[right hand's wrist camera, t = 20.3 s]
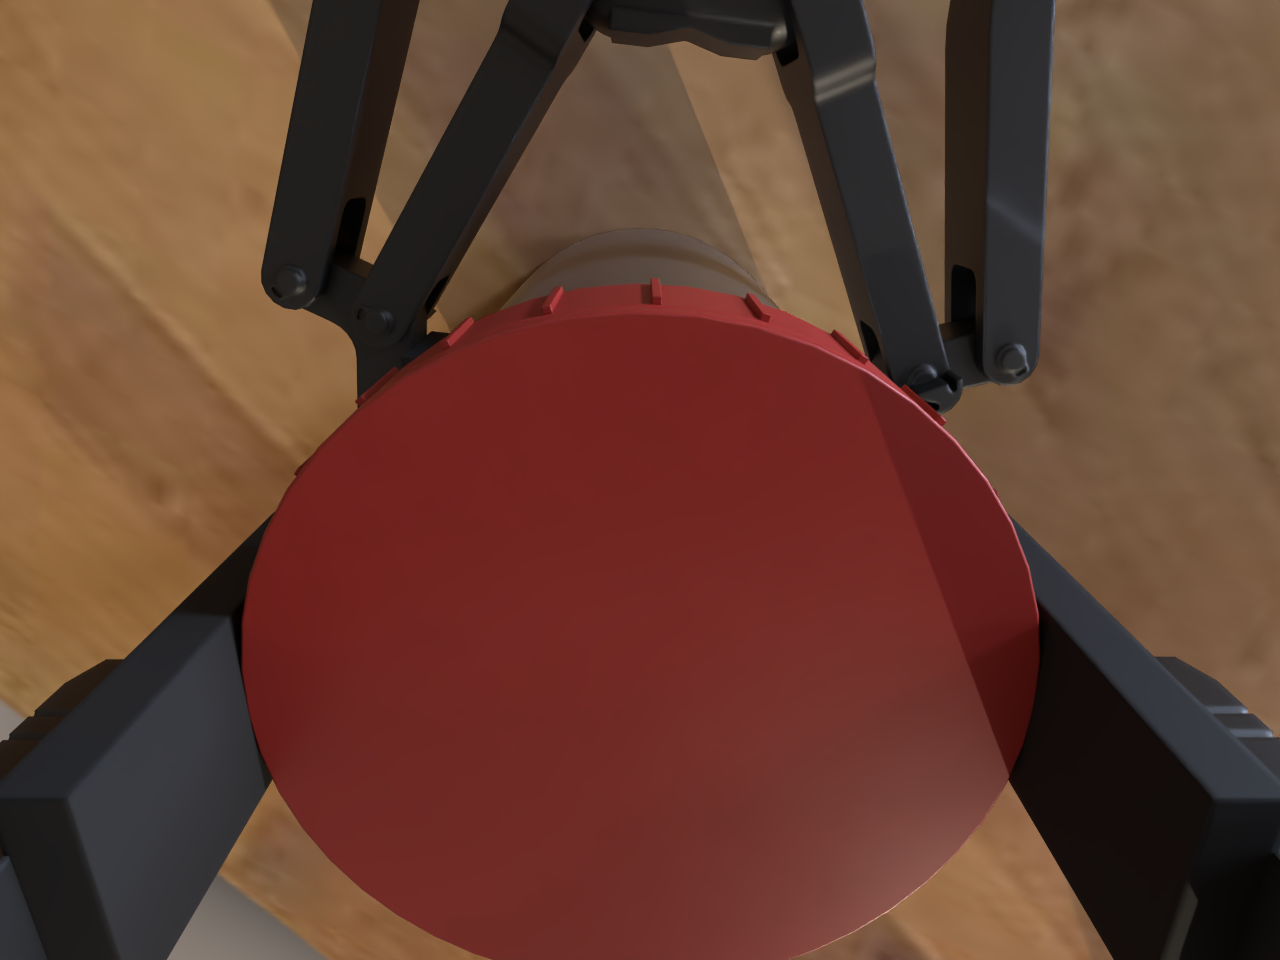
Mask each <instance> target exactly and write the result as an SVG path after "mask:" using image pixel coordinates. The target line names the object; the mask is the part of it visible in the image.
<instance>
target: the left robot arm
mask: <svg viewBox="0 0 1280 960" xmlns="http://www.w3.org/2000/svg"><path fill="white" fill-rule="evenodd" d="M419 1H420V0H313V3H312V8H311V13H310V18H309V24H308V29H307V34H306V39H305V45H304V50H303V55H302V60H301V66H300V71H299V76H298V81H297V86H296V92H295V97H294V102H293V107H292V113H291V118H290V123H289V128H288V134H287V139H286V144H285V149H284V154H283V160H282V165H281V170H280V175H279V181H278V186H277V191H276V196H275V202H274V207H273V212H272V217H271V222H270V228H269V233H268V238H267V243H266V249H265V254H264V259H263V264H262V270H261V282H262V285H263V287H264V290H265V292H266V294H267V295H268V296H269V297H270V298H271V299H272V301H273V302H274V303H276V304H278V305H280V306H282V307H283V308H287V309H294V310H297V309H301V308H303V309H305V310H307V311H310V312H312V313H314V314H316V315H318V316H320V317H323V318H325V319H327V320H329V321H331V322H333V323H335V324H336V325H338V326H340V327H341V328H342V329H343V330H344V331H345V332H346V333H347V334H348V336H349V337H350V339H351V340H352V342H353V344H354V347H355V349H356V356H357V399H358V398H359V397H360V396H361V395H363V394H364V393H365V392H366V391H367V390H368V389H370V388H371V387H372V386H373V385H374V384H375V383H376V382H378V381H379V380H380V379H381V378H382V377H383V376H384V375H386V374H387V373H388V372H389V371H390V370H391V369H393V368H394V367H396V368H397V369H398V370H399V371H400V370H401V369H402V368H403V367H405V366H406V365H407V364H409V363H410V362H411V361H413V360H414V359H416V358H417V357H418V356H420V355H421V354H422V353H424V352H425V351H427V350H428V349H429V348H431V347H432V346H433V345H435V344H436V343H438V342H439V341H440V340H442V339H443V338H445V337H447V336H448V335H449V334H450V333H442V332H433V331H431V332H430V333H429V334H428V335H427V320H428V319H429V318H430V317H431V316H432V315H433V314H434V313H435V312H436V310H435V309H434V307H435V305H436V304H437V302H438V300H439V298H440V297H441V295H442V293H443V292H444V290H445V288H446V286H447V285H448V283H449V281H450V279H451V278H452V276H453V274H454V272H455V271H456V269H457V267H458V265H459V264H460V262H461V260H462V258H463V257H464V255H465V253H466V251H467V250H468V248H469V246H470V244H471V243H472V241H473V239H474V237H475V236H476V234H477V232H478V231H479V229H480V227H481V225H482V224H483V222H484V220H485V218H486V217H487V215H488V213H489V211H490V210H491V208H492V206H493V204H494V203H495V201H496V199H497V197H498V196H499V194H500V192H501V190H502V189H503V187H504V185H505V183H506V182H507V180H508V178H509V176H510V175H511V173H512V171H513V169H514V168H515V166H516V164H517V163H518V161H519V159H520V157H521V156H522V154H523V152H524V150H525V149H526V147H527V145H528V143H529V142H530V140H531V138H532V136H533V135H534V133H535V131H536V129H537V128H538V126H539V124H540V122H541V121H542V119H543V117H544V115H545V114H546V112H547V110H548V108H549V107H550V105H551V103H552V102H553V100H554V98H555V96H556V95H557V93H558V91H559V89H560V88H561V86H562V84H563V83H564V81H565V80H566V78H567V77H568V76H569V75H570V74H571V72H572V71H573V69H574V68H575V66H576V65H577V63H578V61H579V60H580V58H581V56H582V54H583V53H584V51H585V49H586V48H587V46H588V44H589V42H590V41H591V39H592V37H593V35H594V34H595V32H596V30H597V31H599V32H601V33H602V34H604V35H606V36H609V37H611V40H612V43H618V44H627V45H635V46H643V47H651V46H657V45H663V44H668V43H674V42H680V41H688V42H690V43H693V44H695V45H697V46H699V47H702V48H704V49H706V50H708V51H711V52H713V53H715V54H717V55H720V56H725V57H733V58H741V59H749V60H757V59H758V58H760V57H761V56H762V55H768V54H771V53H772V55H773V58H774V61H775V65H776V68H777V72H778V75H779V78H780V82H781V85H782V88H783V91H784V93H785V96H786V98H787V100H788V102H789V103H790V105H791V107H792V109H793V112H794V115H795V118H796V122H797V125H798V128H799V132H800V135H801V139H802V142H803V145H804V149H805V152H806V156H807V159H808V162H809V166H810V169H811V172H812V176H813V179H814V183H815V186H816V189H817V193H818V196H819V200H820V203H821V206H822V210H823V213H824V217H825V220H826V223H827V227H828V230H829V233H830V237H831V240H832V244H833V247H834V250H835V254H836V257H837V261H838V264H839V267H840V271H841V274H842V278H843V281H844V284H845V288H846V291H847V295H848V298H849V301H850V305H851V308H852V311H853V315H854V318H855V322H856V325H857V328H858V332H859V335H860V339H861V342H862V345H863V349H864V352H865V356H866V357H868V358H869V361H870V362H871V363H872V364H873V365H875V366H876V367H877V368H878V369H879V370H880V371H881V372H882V373H883V374H885V375H886V376H887V377H888V378H889V379H890V380H891V381H892V382H893V383H895V384H896V385H897V386H898V387H899V388H901V387H902V386H903V385H906V386H907V387H908V388H910V389H911V390H912V391H913V392H914V393H915V394H916V395H918V396H919V397H920V398H921V399H922V400H923V401H924V402H926V403H927V404H928V405H929V406H930V407H931V408H933V409H934V410H935V411H936V412H937V413H938V414H939V415H941V414H943V413H945V412H947V411H948V410H950V409H952V407H953V406H954V405H955V404H956V403H957V402H958V401H959V399H960V396H961V393H962V391H963V389H965V388H969V387H973V386H978V385H982V384H986V383H991V382H994V383H996V384H998V385H1004V386H1011V385H1014V384H1018V383H1021V382H1022V381H1023V380H1025V379H1026V378H1027V377H1029V376H1030V375H1031V373H1032V372H1033V371H1034V369H1035V368H1036V366H1037V362H1038V358H1039V347H1040V325H1041V303H1042V281H1043V260H1044V238H1045V216H1046V194H1047V172H1048V151H1049V129H1050V107H1051V85H1052V63H1053V42H1054V20H1055V0H951V1H950V7H949V13H948V20H947V28H946V47H945V323H943V324H939V325H938V322H937V318H936V314H935V310H934V306H933V302H932V298H931V295H930V291H929V287H928V283H927V279H926V275H925V271H924V267H923V264H922V260H921V256H920V252H919V248H918V244H917V240H916V236H915V233H914V229H913V225H912V221H911V217H910V213H909V209H908V205H907V202H906V198H905V194H904V190H903V186H902V182H901V178H900V174H899V171H898V167H897V163H896V159H895V155H894V151H893V147H892V143H891V140H890V136H889V132H888V128H887V124H886V120H885V116H884V112H883V109H882V105H881V101H880V97H879V93H878V89H877V85H876V80H875V68H876V55H875V49H874V44H873V39H872V35H871V32H870V28H869V24H868V20H867V16H866V12H865V8H864V4H863V0H509V2H508V4H507V6H506V8H505V11H504V13H503V16H502V20H501V24H500V28H499V31H498V33H497V35H496V37H495V39H494V41H493V43H492V45H491V47H490V49H489V51H488V52H487V54H486V56H485V58H484V60H483V62H482V64H481V65H480V67H479V69H478V71H477V73H476V75H475V77H474V78H473V80H472V82H471V84H470V86H469V88H468V90H467V92H466V93H465V95H464V97H463V99H462V101H461V103H460V105H459V106H458V108H457V110H456V112H455V114H454V116H453V118H452V120H451V121H450V123H449V125H448V127H447V129H446V131H445V133H444V134H443V136H442V138H441V140H440V142H439V144H438V146H437V147H436V149H435V151H434V153H433V155H432V157H431V159H430V161H429V162H428V164H427V166H426V168H425V170H424V172H423V174H422V175H421V177H420V179H419V181H418V183H417V185H416V187H415V189H414V190H413V192H412V194H411V196H410V198H409V200H408V202H407V203H406V205H405V207H404V209H403V211H402V213H401V215H400V216H399V218H398V220H397V222H396V224H395V226H394V228H393V230H392V231H391V233H390V235H389V237H388V239H387V241H386V243H385V244H384V246H383V248H382V250H381V252H380V254H379V256H378V258H377V259H376V261H375V263H374V265H373V264H370V263H368V262H366V261H364V260H362V259H360V254H361V249H362V245H363V241H364V237H365V232H366V228H367V224H368V219H369V215H370V211H371V206H372V202H373V198H374V194H375V189H376V185H377V181H378V176H379V172H380V168H381V164H382V159H383V155H384V151H385V146H386V142H387V138H388V134H389V129H390V125H391V121H392V116H393V112H394V108H395V104H396V99H397V95H398V91H399V86H400V82H401V78H402V73H403V69H404V65H405V61H406V56H407V52H408V48H409V43H410V39H411V35H412V31H413V26H414V22H415V18H416V13H417V9H418V5H419ZM359 407H360V406H359V405H358V408H359Z"/></svg>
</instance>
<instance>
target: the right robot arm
mask: <svg viewBox="0 0 1280 960" xmlns="http://www.w3.org/2000/svg"><path fill="white" fill-rule="evenodd" d="M274 513H275V512H274ZM274 513H273V514H272V515H271V516H270V517H269V518H268V519H267V520H266V521H265V522H264V523H263V524H262V525H261V526H260V527H259V528H258V529H257V530H256V531H254V532H253V533H252V534H251V535H250V536H249V537H248V538H247V539H246V540H245V541H244V542H243V543H242V544H241V545H240V546H239V547H238V548H237V549H236V550H235V551H234V552H233V553H232V554H231V555H230V556H229V557H228V558H227V559H226V560H225V561H224V562H223V563H222V564H221V565H220V566H219V567H218V568H217V569H216V570H215V571H214V572H213V573H212V574H211V575H210V576H209V577H208V578H207V579H206V580H204V581H203V582H202V583H201V584H200V585H199V586H198V587H197V588H196V589H195V590H194V591H193V592H192V593H191V594H190V595H189V596H188V597H187V598H186V599H185V600H184V601H183V602H182V603H181V604H180V605H179V606H178V607H177V608H176V609H175V610H174V611H173V612H172V613H171V614H170V615H169V616H168V617H167V618H166V619H165V620H164V621H163V622H162V623H161V624H160V625H159V626H158V627H157V628H156V629H154V630H153V631H152V632H151V633H150V634H149V635H148V636H147V637H146V638H145V639H144V640H143V641H142V642H141V643H140V644H139V645H138V646H137V647H136V648H135V649H134V650H133V651H132V652H131V653H130V654H129V655H128V656H127V657H126V658H125V659H106V660H105V661H103V662H101V663H99V664H98V665H96V666H94V667H92V668H91V669H89V670H87V671H85V672H84V673H82V674H80V675H78V676H77V677H75V678H73V679H71V680H70V681H68V682H66V683H64V684H63V685H62V686H61V687H60V688H59V689H58V690H57V691H56V692H55V693H54V694H53V695H51V696H50V697H49V698H48V699H47V700H46V701H45V702H44V703H43V704H42V705H41V706H40V707H38V708H37V709H36V710H35V714H34V716H29V717H28V718H26V719H25V720H24V721H23V722H22V723H21V724H20V725H19V726H18V727H17V728H16V729H15V730H13V731H12V732H11V733H10V734H9V735H10V737H9V740H3V741H1V742H0V960H167V958H168V956H169V955H170V953H171V951H172V950H173V948H174V946H175V944H176V943H177V941H178V939H179V938H180V936H181V934H182V933H183V931H184V929H185V927H186V926H187V924H188V922H189V921H190V919H191V917H192V916H193V914H194V912H195V910H196V909H197V907H198V905H199V904H200V902H201V900H202V898H203V897H204V895H205V893H206V892H207V890H208V888H209V887H210V885H211V883H212V881H213V880H214V878H215V876H216V875H217V873H218V871H219V870H220V868H221V866H222V864H223V863H224V861H225V859H226V858H227V856H228V854H229V853H230V851H231V849H232V847H233V846H234V844H235V842H236V841H237V839H238V837H239V836H240V834H241V832H242V830H243V829H244V827H245V825H246V824H247V822H248V820H249V818H250V817H251V815H252V813H253V812H254V810H255V808H256V807H257V805H258V803H259V801H260V800H261V798H262V796H263V795H264V793H265V791H266V790H267V788H268V786H269V784H270V783H271V781H272V777H271V774H270V772H269V770H268V768H267V766H266V764H265V762H264V760H263V758H262V756H261V753H260V750H259V747H258V744H257V741H256V737H255V734H254V731H253V728H252V724H251V720H250V716H249V711H248V706H247V701H246V696H245V691H244V685H243V678H242V672H241V622H242V616H243V610H244V604H245V598H246V592H247V586H248V580H249V576H250V573H251V570H252V567H253V564H254V561H255V558H256V555H257V552H258V549H259V546H260V543H261V540H262V537H263V534H264V532H265V530H266V528H267V526H268V524H269V522H270V520H271V519H272V517H273V515H274ZM1007 514H1008V513H1007ZM1008 516H1009V518H1010V519H1011V521H1012V523H1013V526H1014V528H1015V531H1016V534H1017V536H1018V539H1019V542H1020V544H1021V547H1022V550H1023V552H1024V555H1025V558H1026V560H1027V563H1028V566H1029V569H1030V574H1031V579H1032V584H1033V589H1034V594H1035V599H1036V603H1037V608H1038V615H1039V641H1040V665H1039V674H1038V682H1037V689H1036V694H1035V699H1034V704H1033V709H1032V713H1031V717H1030V722H1029V726H1028V730H1027V734H1026V737H1025V741H1024V745H1023V747H1022V749H1021V751H1020V754H1019V756H1018V758H1017V761H1016V763H1015V765H1014V767H1013V770H1012V772H1011V774H1010V776H1009V779H1008V780H1009V782H1010V784H1011V785H1012V787H1013V789H1014V790H1015V792H1016V794H1017V795H1018V797H1019V799H1020V801H1021V802H1022V804H1023V806H1024V807H1025V809H1026V811H1027V812H1028V814H1029V816H1030V818H1031V819H1032V821H1033V823H1034V824H1035V826H1036V828H1037V830H1038V831H1039V833H1040V835H1041V836H1042V838H1043V840H1044V841H1045V843H1046V845H1047V847H1048V848H1049V850H1050V852H1051V853H1052V855H1053V857H1054V858H1055V860H1056V862H1057V864H1058V865H1059V867H1060V869H1061V870H1062V872H1063V874H1064V875H1065V877H1066V879H1067V881H1068V882H1069V884H1070V886H1071V887H1072V889H1073V891H1074V893H1075V894H1076V896H1077V898H1078V899H1079V901H1080V903H1081V904H1082V906H1083V908H1084V910H1085V911H1086V913H1087V915H1088V916H1089V918H1090V920H1091V921H1092V923H1093V925H1094V927H1095V928H1096V930H1097V932H1098V933H1099V935H1100V937H1101V938H1102V940H1103V942H1104V944H1105V945H1106V947H1107V949H1108V950H1109V952H1110V954H1111V956H1112V957H1113V959H1114V960H1280V738H1279V737H1273V735H1272V731H1271V730H1270V729H1269V728H1268V727H1267V726H1266V725H1265V724H1264V723H1263V722H1262V721H1260V720H1259V719H1258V718H1257V717H1256V716H1255V715H1254V714H1248V713H1247V708H1246V707H1245V706H1244V705H1243V704H1242V703H1241V702H1240V701H1239V700H1237V699H1236V698H1235V697H1234V696H1233V695H1232V694H1231V693H1230V692H1229V691H1228V690H1227V689H1225V688H1224V687H1223V686H1222V685H1221V684H1220V683H1219V682H1218V681H1217V680H1215V679H1213V678H1211V677H1210V676H1208V675H1206V674H1204V673H1203V672H1201V671H1199V670H1197V669H1196V668H1194V667H1192V666H1190V665H1188V664H1187V663H1185V662H1183V661H1181V660H1180V659H1178V658H1176V657H1154V656H1153V655H1152V654H1151V653H1150V652H1149V651H1148V650H1146V649H1145V648H1144V647H1143V646H1142V645H1141V644H1140V643H1139V642H1138V641H1137V640H1136V639H1135V638H1134V637H1133V636H1132V635H1131V634H1130V633H1129V632H1128V631H1127V630H1126V629H1125V628H1124V627H1123V626H1122V625H1121V624H1120V623H1119V622H1118V621H1117V620H1116V619H1115V618H1114V617H1113V616H1112V615H1111V614H1110V613H1109V612H1108V611H1107V610H1106V609H1105V608H1104V607H1103V606H1102V605H1101V604H1100V603H1099V602H1097V601H1096V600H1095V599H1094V598H1093V597H1092V596H1091V595H1090V594H1089V593H1088V592H1087V591H1086V590H1085V589H1084V588H1083V587H1082V586H1081V585H1080V584H1079V583H1078V582H1077V581H1076V580H1075V579H1074V578H1073V577H1072V576H1071V575H1070V574H1069V573H1068V572H1067V571H1066V570H1065V569H1064V568H1063V567H1062V566H1061V565H1060V564H1059V563H1058V562H1057V561H1056V560H1055V559H1054V558H1053V557H1052V556H1051V555H1050V554H1049V553H1047V552H1046V551H1045V550H1044V549H1043V548H1042V547H1041V546H1040V545H1039V544H1038V543H1037V542H1036V541H1035V540H1034V539H1033V538H1032V537H1031V536H1030V535H1029V534H1028V533H1027V532H1026V531H1025V530H1024V529H1023V528H1022V527H1021V526H1020V525H1019V524H1018V523H1017V522H1016V521H1015V520H1014V519H1013V518H1012V517H1011V516H1010V515H1009V514H1008Z"/></svg>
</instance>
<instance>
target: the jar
mask: <svg viewBox="0 0 1280 960" xmlns="http://www.w3.org/2000/svg"><path fill="white" fill-rule="evenodd" d="M651 278H659V281H660V285H673V286H688V287H693V288H699V289H704V290H709V291H715V292H720V293H725V294H731V295H736V296H739V297H742V298H745V297H746V294H747V293H750V294H754V295H755V296H756V297H757V299H758V300H759V301H760V302H761V303H762V304H763V305H766V306H769V307H772V308H776V309H779V310H780V308H779V307H778V306H777V305H776V304H775V303H774V302H773V301H772V300H771V299H770V297H769V296H768V295H767V294H766V293H765V292H764V291H763V290H762V289H761V287H760V286H759V285H758V284H757V283H756V282H755V281H754V280H753V279H752V277H751V276H750V275H749V274H748V273H747V272H746V271H745V270H744V269H742V268H741V267H740V266H739V265H738V264H737V263H736V262H735V261H733V260H732V259H731V258H729V257H728V256H726V255H725V254H723V253H722V252H720V251H719V250H717V249H716V248H714V247H712V246H710V245H708V244H706V243H704V242H702V241H700V240H697V239H695V238H692V237H689V236H685V235H682V234H679V233H675V232H670V231H664V230H659V229H642V228H634V229H623V230H614V231H610V232H606V233H602V234H597V235H594V236H591V237H589V238H586V239H584V240H581V241H578V242H576V243H574V244H572V245H570V246H569V247H567V248H565V249H563V250H561V251H560V252H558V253H557V254H555V255H554V256H553V257H551V258H550V259H548V260H547V261H546V262H544V263H543V264H542V265H541V266H540V267H539V268H538V269H537V270H536V271H535V272H534V273H533V274H532V275H531V276H530V277H529V278H528V279H527V280H526V281H525V282H524V283H523V284H522V285H521V286H520V288H519V289H518V290H517V291H516V292H515V293H514V294H513V295H512V296H511V298H510V299H509V300H508V301H507V302H506V303H505V304H504V305H503V306H502V308H501V309H500V310H499V311H501V310H503V309H506V308H509V307H512V306H514V305H517V304H520V303H523V302H525V301H528V300H531V299H534V298H538V297H543V296H548V295H550V293H551V291H552V290H553V288H554V287H559V286H562V289H563V292H566V291H570V290H575V289H580V288H586V287H598V286H611V285H623V284H651Z"/></svg>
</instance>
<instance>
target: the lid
mask: <svg viewBox="0 0 1280 960" xmlns="http://www.w3.org/2000/svg"><path fill="white" fill-rule="evenodd" d="M355 402H356V403H357V404H358V405H359V406H360V407H359V408H358V409H357V410H356V411H355V412H354V413H353V414H352V415H351V416H350V417H349V418H348V419H347V420H346V421H345V422H344V423H343V424H342V425H341V426H339V427H338V428H337V429H336V430H335V431H334V432H333V433H332V434H331V435H330V436H329V437H328V438H327V439H326V440H325V441H324V442H323V443H322V444H321V445H320V446H319V447H318V448H317V450H316V451H315V452H314V454H313V455H312V456H311V457H310V458H308V459H307V460H306V461H305V462H304V463H303V464H302V465H301V466H300V467H299V468H298V469H297V470H296V472H295V473H294V475H296V478H295V479H294V480H293V482H292V483H291V484H290V486H289V487H288V488H287V490H286V492H285V494H284V496H283V498H282V500H281V502H280V503H279V505H278V507H277V509H276V511H275V513H274V515H273V517H272V519H271V520H270V522H269V524H268V526H267V528H266V530H265V532H264V534H263V537H262V540H261V543H260V546H259V549H258V552H257V555H256V558H255V561H254V564H253V567H252V570H251V573H250V576H249V580H248V586H247V592H246V598H245V604H244V610H243V616H242V622H241V672H242V678H243V685H244V691H245V696H246V701H247V706H248V711H249V716H250V720H251V724H252V728H253V731H254V734H255V737H256V741H257V744H258V747H259V750H260V753H261V756H262V758H263V760H264V762H265V764H266V766H267V768H268V770H269V772H270V774H271V777H272V779H273V781H274V783H275V785H276V787H277V789H278V791H279V793H280V795H281V796H282V798H283V799H284V801H285V802H286V804H287V805H288V807H289V808H290V810H291V811H292V813H293V814H294V816H295V817H296V819H297V820H298V822H299V823H300V825H301V826H302V828H303V829H304V830H305V832H306V833H307V834H308V835H309V836H310V837H311V839H312V840H313V841H314V842H315V843H316V844H317V845H318V847H319V848H320V849H321V850H322V851H323V852H324V854H325V855H326V856H327V857H328V858H329V859H330V861H331V862H333V863H334V864H335V865H336V866H337V867H338V868H339V869H340V870H341V871H342V872H343V873H345V874H346V875H347V876H348V877H349V878H350V879H351V880H352V881H353V882H354V883H356V884H357V885H358V886H359V887H360V888H361V889H362V890H363V891H365V892H366V893H368V894H369V895H370V896H372V897H373V898H375V899H376V900H377V901H379V902H380V903H381V904H383V905H384V906H386V907H387V908H388V909H390V910H391V911H392V912H394V913H395V914H397V915H398V916H400V917H402V918H404V919H405V920H407V921H409V922H411V923H412V924H414V925H416V926H418V927H419V928H421V929H423V930H425V931H426V932H428V933H430V934H432V935H433V936H435V937H437V938H440V939H442V940H444V941H447V942H449V943H451V944H453V945H456V946H458V947H460V948H462V949H465V950H467V951H469V952H471V953H474V954H477V955H480V956H483V957H486V958H489V959H492V960H789V959H792V958H794V957H797V956H800V955H803V954H806V953H809V952H811V951H814V950H817V949H819V948H821V947H823V946H825V945H827V944H830V943H832V942H834V941H836V940H838V939H840V938H842V937H844V936H847V935H849V934H851V933H853V932H855V931H857V930H858V929H860V928H862V927H863V926H865V925H867V924H868V923H870V922H872V921H873V920H875V919H877V918H878V917H880V916H882V915H883V914H885V913H887V912H888V911H890V910H891V909H893V908H894V907H895V906H897V905H898V904H899V903H901V902H902V901H903V900H905V899H906V898H907V897H909V896H910V895H911V894H913V893H914V892H915V891H916V890H918V889H919V888H920V887H922V886H923V885H924V884H926V883H927V882H928V881H929V880H930V879H931V878H932V877H933V876H934V875H935V874H936V873H937V872H938V871H939V870H940V869H941V868H942V867H943V866H944V865H945V864H946V863H947V862H949V861H950V860H951V859H952V858H953V857H954V856H955V855H956V854H957V853H958V851H959V850H960V849H961V848H962V847H963V845H964V844H965V843H966V842H967V840H968V839H969V838H970V837H971V835H972V834H973V833H974V832H975V831H976V829H977V828H978V827H979V826H980V824H981V823H982V822H983V821H984V819H985V818H986V816H987V814H988V813H989V811H990V809H991V808H992V806H993V805H994V803H995V801H996V800H997V798H998V796H999V795H1000V793H1001V792H1002V790H1003V788H1004V787H1005V785H1006V783H1007V781H1008V779H1009V776H1010V774H1011V772H1012V770H1013V767H1014V765H1015V763H1016V761H1017V758H1018V756H1019V754H1020V751H1021V749H1022V747H1023V745H1024V741H1025V737H1026V734H1027V730H1028V726H1029V722H1030V717H1031V713H1032V709H1033V704H1034V699H1035V694H1036V689H1037V682H1038V674H1039V665H1040V641H1039V615H1038V608H1037V603H1036V599H1035V594H1034V589H1033V584H1032V579H1031V574H1030V569H1029V566H1028V563H1027V560H1026V558H1025V555H1024V552H1023V550H1022V547H1021V544H1020V542H1019V539H1018V536H1017V534H1016V531H1015V528H1014V526H1013V523H1012V521H1011V519H1010V518H1009V516H1008V514H1007V512H1006V511H1005V509H1004V507H1003V505H1002V504H1001V502H1000V500H999V498H1000V497H999V495H998V493H997V491H996V490H994V489H993V488H992V486H991V485H990V483H989V481H988V479H987V478H986V477H985V476H984V474H983V473H982V472H981V471H980V469H979V468H978V467H977V466H976V464H975V463H974V462H973V461H972V459H971V458H970V457H969V456H968V454H967V453H966V452H965V451H964V449H963V448H962V447H961V446H960V444H959V443H958V442H957V441H956V439H955V438H954V437H953V436H951V435H950V434H949V433H948V432H947V431H946V430H945V429H944V428H943V427H942V426H943V425H944V424H945V423H946V420H945V419H944V418H943V417H942V416H941V415H939V414H938V413H937V412H936V411H935V410H934V409H933V408H931V407H930V406H929V405H928V404H927V403H926V402H924V401H923V400H922V399H921V398H920V397H919V396H918V395H916V394H915V393H914V392H913V391H912V390H911V389H910V388H908V387H907V386H906V385H903V386H902V387H901V388H899V387H898V386H897V385H896V384H895V383H893V382H892V381H891V380H890V379H889V378H888V377H887V376H886V375H885V374H883V373H882V372H881V371H880V370H879V369H878V368H877V367H876V366H875V365H873V364H872V363H871V362H870V361H869V358H868V357H866V356H865V355H864V354H863V353H862V352H861V351H860V350H859V349H857V348H856V347H855V346H854V345H853V344H852V343H851V342H850V341H849V340H847V339H846V338H845V337H844V336H843V335H842V334H841V333H839V332H838V331H836V330H833V332H832V333H831V334H829V333H827V332H825V331H823V330H821V329H819V328H817V327H815V326H813V325H811V324H809V323H807V322H805V321H803V320H801V319H799V318H797V317H795V316H793V315H791V314H789V313H787V312H785V311H782V310H779V309H776V308H772V307H769V306H766V305H763V304H762V303H761V302H760V301H759V300H758V299H757V297H756V296H755V295H754V294H750V293H747V294H746V297H745V298H742V297H739V296H736V295H731V294H725V293H720V292H715V291H709V290H704V289H699V288H693V287H688V286H673V285H660V281H659V278H651V284H623V285H611V286H598V287H586V288H580V289H575V290H570V291H566V292H563V289H562V286H559V287H554V288H553V290H552V291H551V293H550V295H548V296H543V297H538V298H534V299H531V300H528V301H525V302H523V303H520V304H517V305H514V306H512V307H509V308H506V309H503V310H501V311H498V312H495V313H492V314H490V315H487V316H485V317H483V318H481V319H479V320H477V321H475V322H474V320H473V319H472V317H469V318H467V319H465V320H464V321H463V322H462V323H461V324H459V325H458V326H457V327H456V328H455V329H454V330H453V331H452V332H451V333H450V334H449V335H448V336H447V337H445V338H443V339H442V340H440V341H439V342H438V343H436V344H435V345H433V346H432V347H431V348H429V349H428V350H427V351H425V352H424V353H422V354H421V355H420V356H418V357H417V358H416V359H414V360H413V361H411V362H410V363H409V364H407V365H406V366H405V367H403V368H402V369H401V370H400V371H399V370H398V369H397V368H396V367H394V368H393V369H391V370H390V371H389V372H388V373H387V374H386V375H384V376H383V377H382V378H381V379H380V380H379V381H378V382H376V383H375V384H374V385H373V386H372V387H371V388H370V389H368V390H367V391H366V392H365V393H364V394H363V395H361V396H360V397H359V398H358V399H357V400H356V401H355Z"/></svg>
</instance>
